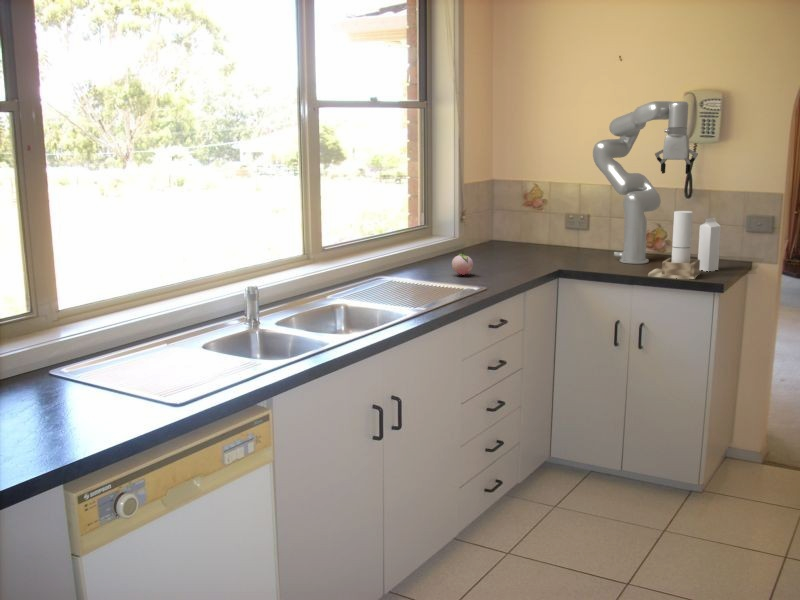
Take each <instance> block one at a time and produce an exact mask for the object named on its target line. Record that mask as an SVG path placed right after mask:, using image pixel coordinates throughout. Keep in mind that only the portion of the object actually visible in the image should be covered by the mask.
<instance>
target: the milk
mask: <svg viewBox="0 0 800 600" xmlns="http://www.w3.org/2000/svg"><path fill="white" fill-rule="evenodd" d="M721 228H722V226H721V224H719V223H718V222H717V218H716V217H712V218H711V217H710V218H706V219H705V221H704V223H702V224H700V225H699V235H698V253H697V260H700V267H699V271H701V270H703V271H702V272H706V271H708V272H707V273H709V271H711V272H716V271H715V270H718V271H719V263H720V261H719V260H720V259H719V258H720V247H721V246H720V245H721V233H722V232H721Z"/></svg>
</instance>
